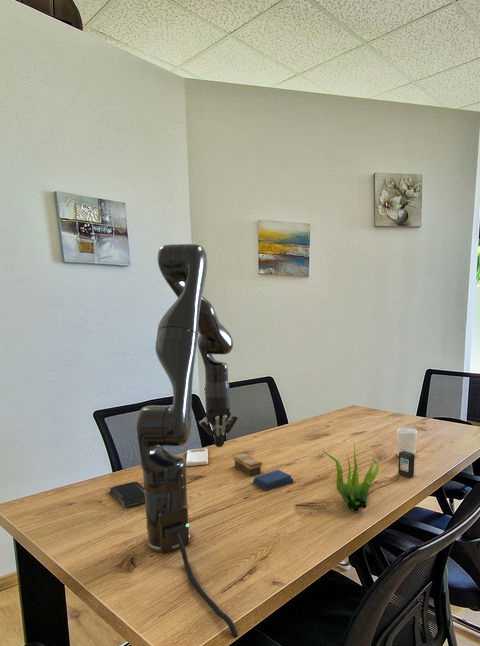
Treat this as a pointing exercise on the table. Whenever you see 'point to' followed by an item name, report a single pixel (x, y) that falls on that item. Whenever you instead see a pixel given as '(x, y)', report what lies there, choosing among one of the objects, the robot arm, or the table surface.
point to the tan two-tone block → (247, 464)
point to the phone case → (197, 457)
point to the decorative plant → (354, 484)
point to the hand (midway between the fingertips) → (219, 446)
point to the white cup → (406, 440)
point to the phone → (129, 494)
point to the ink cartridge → (406, 463)
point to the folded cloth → (272, 479)
